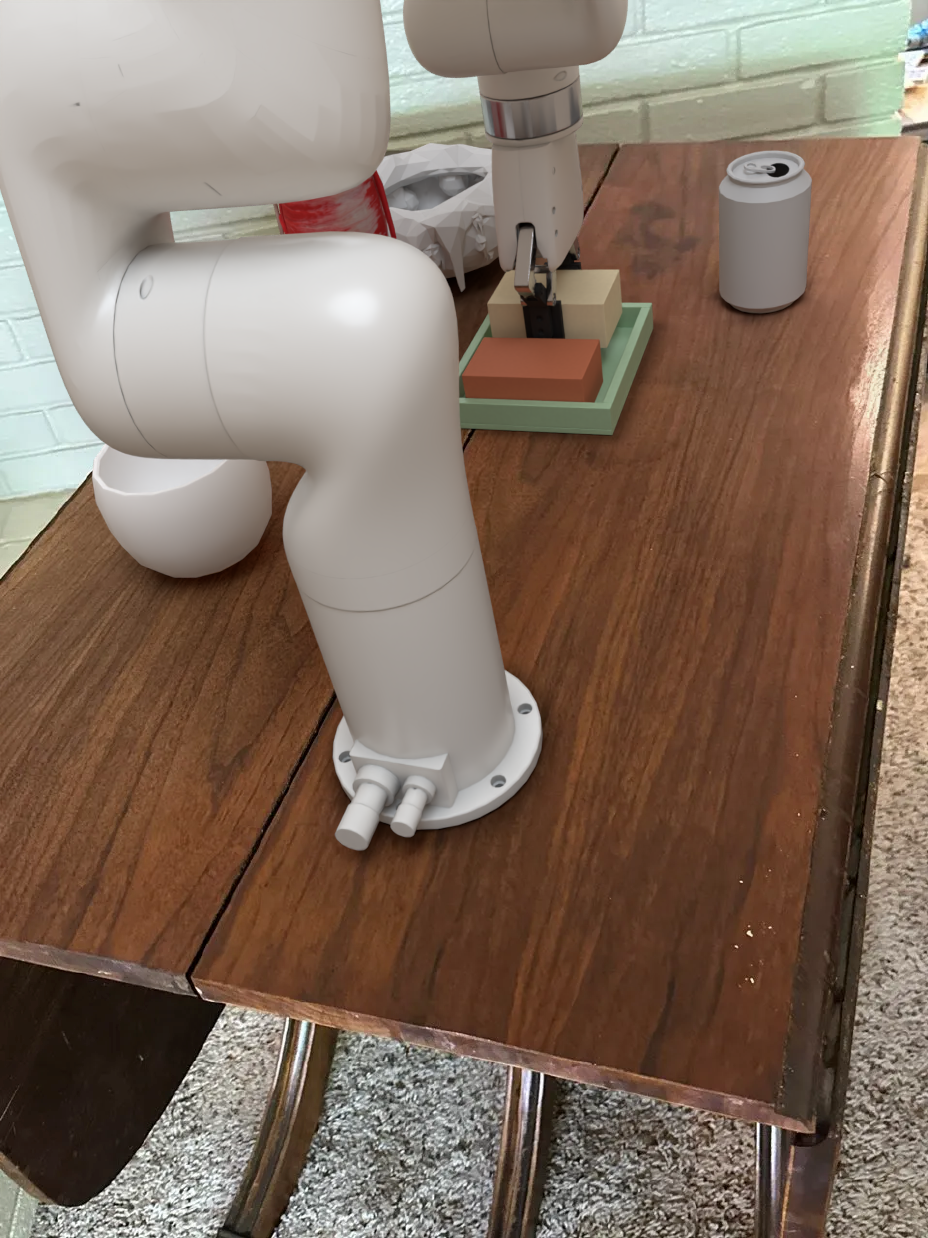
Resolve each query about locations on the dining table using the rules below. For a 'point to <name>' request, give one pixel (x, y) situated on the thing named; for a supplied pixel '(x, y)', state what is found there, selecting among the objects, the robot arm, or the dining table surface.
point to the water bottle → (340, 212)
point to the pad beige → (564, 305)
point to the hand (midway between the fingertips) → (556, 323)
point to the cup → (183, 509)
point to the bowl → (443, 205)
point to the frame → (560, 415)
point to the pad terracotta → (535, 370)
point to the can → (764, 231)
